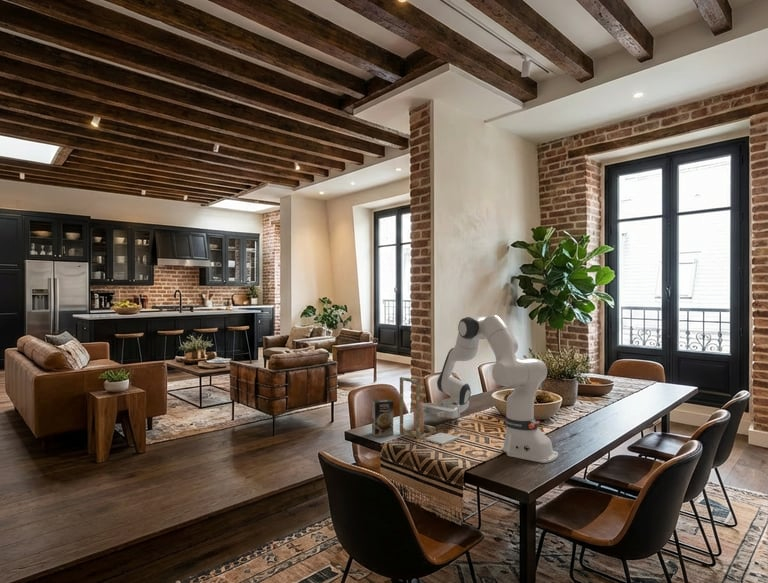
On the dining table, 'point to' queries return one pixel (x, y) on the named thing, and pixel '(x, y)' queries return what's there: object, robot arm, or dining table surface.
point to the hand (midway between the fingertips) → (429, 413)
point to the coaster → (441, 438)
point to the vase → (420, 420)
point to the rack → (426, 428)
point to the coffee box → (382, 417)
